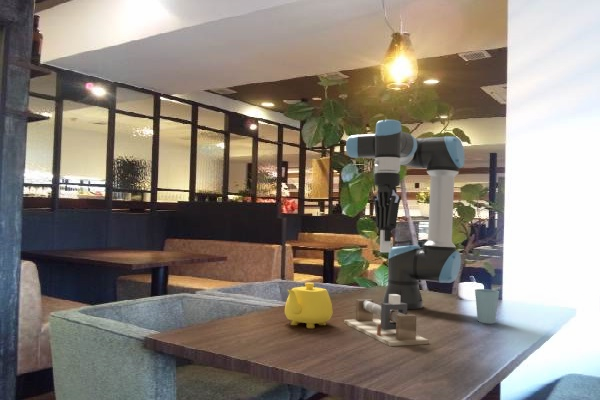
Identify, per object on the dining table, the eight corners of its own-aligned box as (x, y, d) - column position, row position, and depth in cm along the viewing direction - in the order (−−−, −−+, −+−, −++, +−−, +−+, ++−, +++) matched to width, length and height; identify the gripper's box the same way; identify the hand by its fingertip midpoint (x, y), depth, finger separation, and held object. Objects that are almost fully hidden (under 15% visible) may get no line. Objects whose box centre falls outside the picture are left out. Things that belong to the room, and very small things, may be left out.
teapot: (341, 323, 165) (343, 282, 165) (304, 334, 149) (305, 289, 149) (306, 317, 173) (307, 278, 173) (267, 326, 157) (268, 283, 157)
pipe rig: (344, 323, 165) (344, 299, 165) (377, 321, 169) (378, 298, 170) (389, 346, 138) (390, 317, 138) (428, 343, 142) (429, 315, 142)
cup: (503, 323, 173) (504, 291, 173) (486, 324, 170) (486, 292, 170) (487, 319, 180) (487, 288, 180) (469, 320, 177) (470, 289, 177)
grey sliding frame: (380, 328, 148) (381, 294, 148) (402, 327, 150) (403, 293, 151) (384, 329, 146) (385, 295, 146) (406, 328, 148) (407, 295, 148)
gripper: (365, 173, 160) (363, 250, 160) (386, 170, 148) (384, 254, 148) (387, 174, 163) (385, 250, 162) (409, 172, 150) (407, 254, 150)
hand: (385, 252), depth 155 cm, fingers closed
